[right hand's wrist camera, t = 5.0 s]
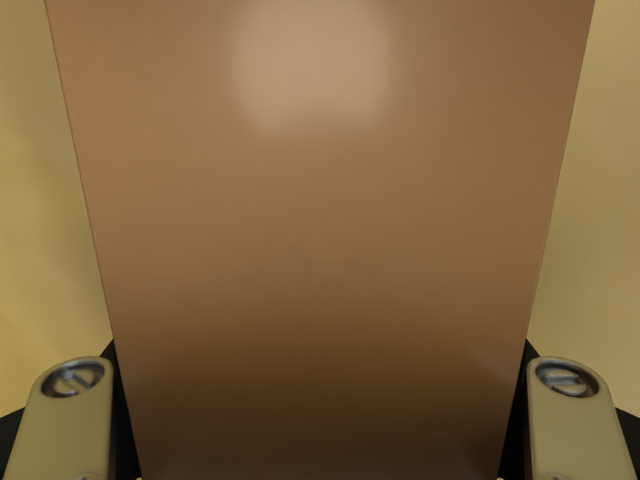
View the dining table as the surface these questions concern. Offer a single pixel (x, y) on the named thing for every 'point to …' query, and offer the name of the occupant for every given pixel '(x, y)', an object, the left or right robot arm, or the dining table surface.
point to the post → (319, 222)
